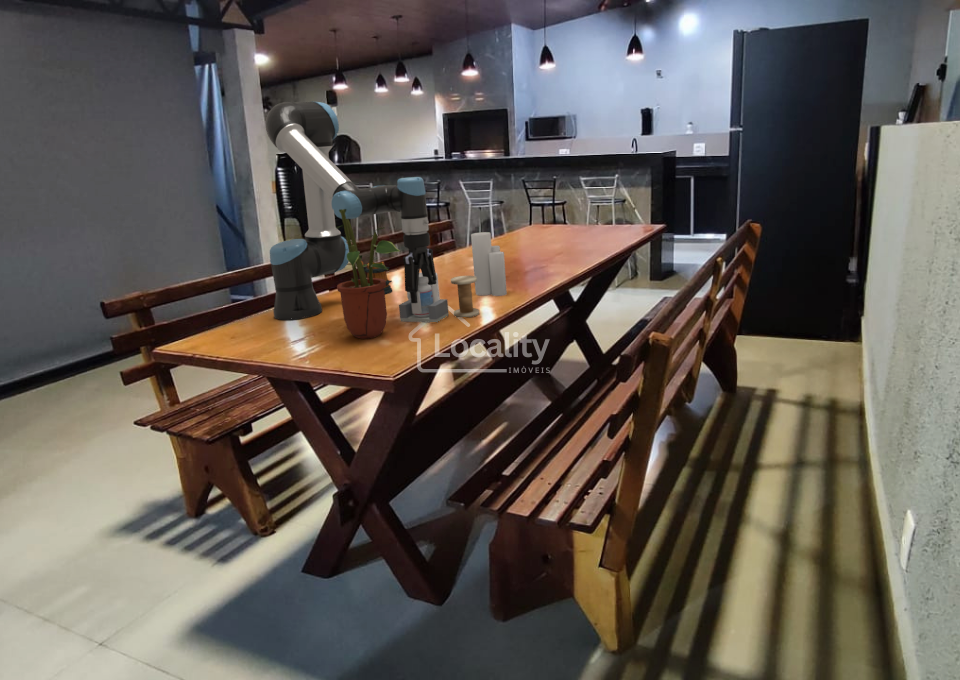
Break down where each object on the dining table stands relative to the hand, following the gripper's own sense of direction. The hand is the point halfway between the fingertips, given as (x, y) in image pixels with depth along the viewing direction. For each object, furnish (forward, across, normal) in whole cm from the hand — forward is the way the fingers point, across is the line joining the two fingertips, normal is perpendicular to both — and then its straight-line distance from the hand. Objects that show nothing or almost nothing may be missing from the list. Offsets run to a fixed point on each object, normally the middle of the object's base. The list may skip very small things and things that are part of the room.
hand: (423, 309), depth 199 cm
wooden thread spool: (+3, +6, -11) cm, 13 cm away
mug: (+3, +12, +7) cm, 14 cm away
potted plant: (+3, -17, +7) cm, 18 cm away
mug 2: (+3, +30, +36) cm, 47 cm away
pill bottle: (+2, 0, 0) cm, 2 cm away
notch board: (+3, 0, 0) cm, 3 cm away
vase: (+3, +33, -8) cm, 34 cm away
